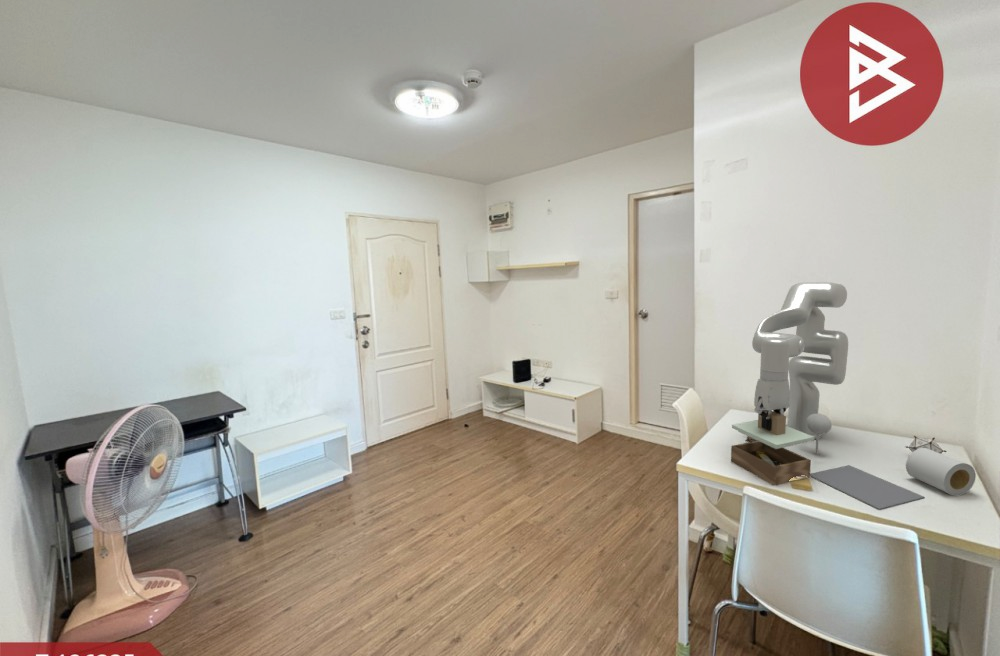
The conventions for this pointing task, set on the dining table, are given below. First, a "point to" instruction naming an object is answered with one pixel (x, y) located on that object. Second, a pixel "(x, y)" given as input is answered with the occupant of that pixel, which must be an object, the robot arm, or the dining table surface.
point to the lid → (773, 432)
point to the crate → (772, 474)
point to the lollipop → (818, 426)
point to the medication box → (764, 457)
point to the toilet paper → (941, 471)
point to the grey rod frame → (925, 445)
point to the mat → (866, 487)
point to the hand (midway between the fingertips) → (771, 427)
